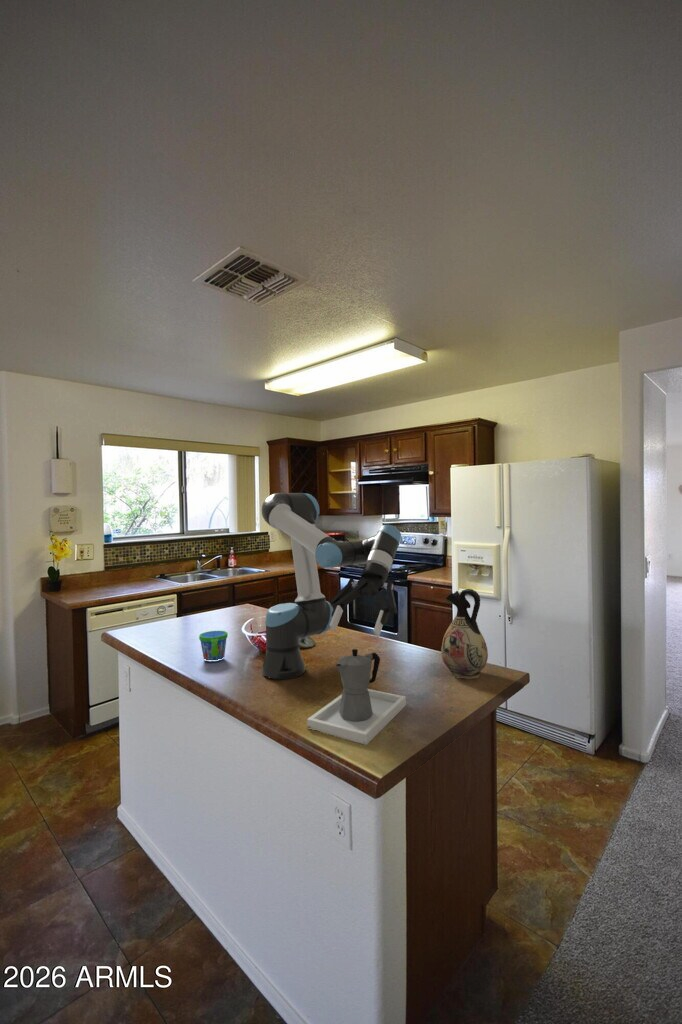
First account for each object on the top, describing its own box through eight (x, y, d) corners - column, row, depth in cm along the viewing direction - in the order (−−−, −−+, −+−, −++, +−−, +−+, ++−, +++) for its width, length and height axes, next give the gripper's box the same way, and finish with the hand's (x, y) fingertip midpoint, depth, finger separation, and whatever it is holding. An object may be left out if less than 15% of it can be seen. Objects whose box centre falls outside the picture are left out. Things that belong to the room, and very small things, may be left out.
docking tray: (307, 728, 120) (306, 719, 120) (353, 693, 142) (353, 685, 142) (366, 744, 111) (365, 734, 111) (406, 705, 133) (405, 696, 133)
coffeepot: (347, 727, 118) (345, 658, 118) (326, 715, 126) (325, 649, 126) (391, 711, 127) (390, 647, 127) (369, 700, 135) (368, 639, 135)
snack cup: (201, 655, 183) (200, 629, 183) (228, 652, 185) (228, 627, 185) (198, 668, 168) (197, 640, 168) (227, 665, 170) (227, 638, 170)
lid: (301, 641, 200) (301, 629, 200) (319, 644, 195) (319, 632, 195) (285, 647, 191) (285, 635, 191) (304, 651, 186) (304, 638, 186)
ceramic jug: (432, 676, 155) (431, 588, 155) (455, 664, 167) (453, 582, 167) (479, 688, 144) (478, 594, 144) (500, 675, 155) (499, 587, 155)
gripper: (419, 579, 133) (400, 644, 120) (345, 574, 146) (320, 632, 133) (412, 562, 128) (391, 628, 116) (336, 559, 141) (310, 618, 128)
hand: (353, 630), depth 124 cm, fingers open, 13 cm apart
